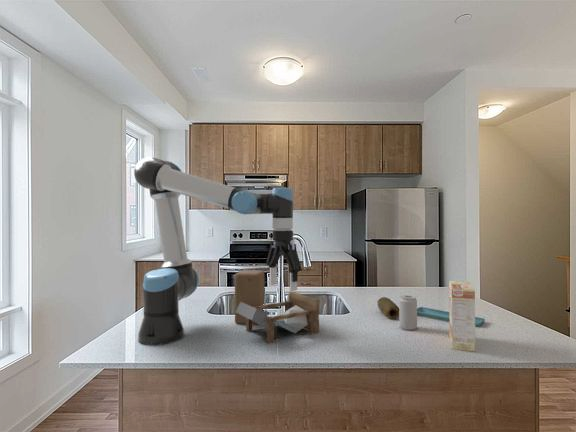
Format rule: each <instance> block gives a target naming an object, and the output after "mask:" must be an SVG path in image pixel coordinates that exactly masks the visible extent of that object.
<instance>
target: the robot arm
mask: <svg viewBox="0 0 576 432" xmlns="http://www.w3.org/2000/svg"><path fill="white" fill-rule="evenodd" d="M133 172H134V173H133V174H134V178H135V180H136V182H137V184H139V185H140V186H141V187H143V188H145V189H148V190H149V195H150V198H151V199H152V200H154V202H155V208H156V209H155V210H156V215H157V220H158V221H157V222H158V228H159V229H158V230H159V235H160V242H161V248H162V254H163V255H162V256H163V263H162V264H161V266H160V268H158V269H153V270H150V271H148V272H147V273H145V275H144V276H143V283H142V288H143V295H142V296H143V297H142V298H143V319H142V321H141V324H140V327H139V331H138V335H137V336H138V337H137V338H138V339H137V341H138V342H139V343H141V344H145V345H151V346H152V345H156V346H157V345H165V344H170V343H175V342H177V341H180V340H181V339H183V338H184V336H185V335H184V334H185V330H184V329H185V328H184V325H183V323H182V320H181V317H180V315H179V313H180V312H179V311H180V310H179V305H180V304H179V301H181V300H183V299H186V298H188V297H190V296H191V295H192V294H194V293H195V291H196V290H197V288H198V287H199V284H200V279H199V275H198V271H196V270H195V269H194V268H193V262H192V260H190V259H189V258H188V253H187V249H186V241H185V235H184V229H183V221H182V216H181V209H180V203H179V198H180V196H181V195H183V196H186V197H189V198H193V199H196V200H198V201H202V202H206V203H209V204H212V205H215V206H220V207H222V208H226V209H229V210H232V211H234V212H236V213H238V214H240V215H263V214H264V215H266V214H267V215H269V214H270V215H271V214H272V226H271V227H272V229H273V231H272V240H273V241H271V242H270V245H269V246H270V247H269V252H268V256H267V258H266V259H267V260H266V265H267V266H268V268H269V285H270V286H275V285H277V284H278V275H277V274H278V271H277V270H278V268H277V267H278V265H277V264H278V262H279V260H280V258H281V256H283V257H284V259H285V260H286V263H287V265H288V268H289V270H290V271H289V292H295V291H298V280H299V279H298V275H299V272H301V271H302V270H303V269H302V265H301V262H300V258H299V254H298V251H297V244H296V243H291V242H292V241H293V239H294V231H293V228H294V227H293V226H294V224H293V223H294V221H293V219H294V199H293V198H294V197H293V190H292V188H290V187H273V188H272V191H271V193H256V192H252V191H248V190H244V189H242V188H237V187H234V186H230V185H227V184H224V183H220V182H217V181H213V180H210V179H207V178H203V177H201V176H197V175H194V174H190V173H187V172H184V171H183V170H182V169H181V168H180V167H179V166H178V165H176V164H175V163H173V162H171V161H169V160H163V159H160V158H156V157H145V158H142V159H140V160H139V161H138V162H137V163H136V164H135V167H134V170H133Z"/></svg>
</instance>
